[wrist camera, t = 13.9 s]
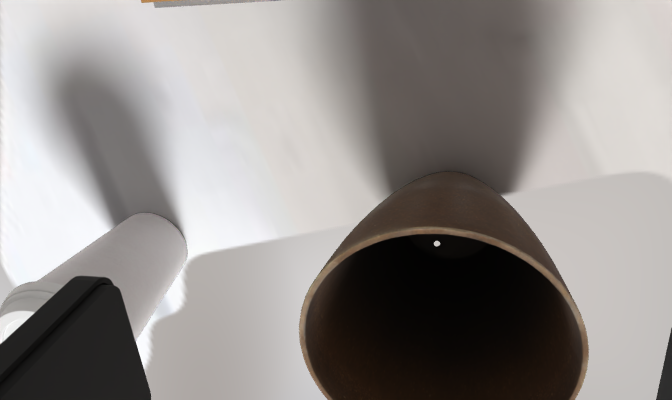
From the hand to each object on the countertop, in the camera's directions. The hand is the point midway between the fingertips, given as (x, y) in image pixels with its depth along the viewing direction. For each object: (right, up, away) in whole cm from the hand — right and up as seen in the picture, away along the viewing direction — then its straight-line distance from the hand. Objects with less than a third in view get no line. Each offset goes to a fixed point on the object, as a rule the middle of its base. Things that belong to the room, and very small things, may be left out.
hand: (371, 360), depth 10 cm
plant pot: (+8, +2, +34) cm, 35 cm away
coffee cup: (-17, -1, +42) cm, 45 cm away
